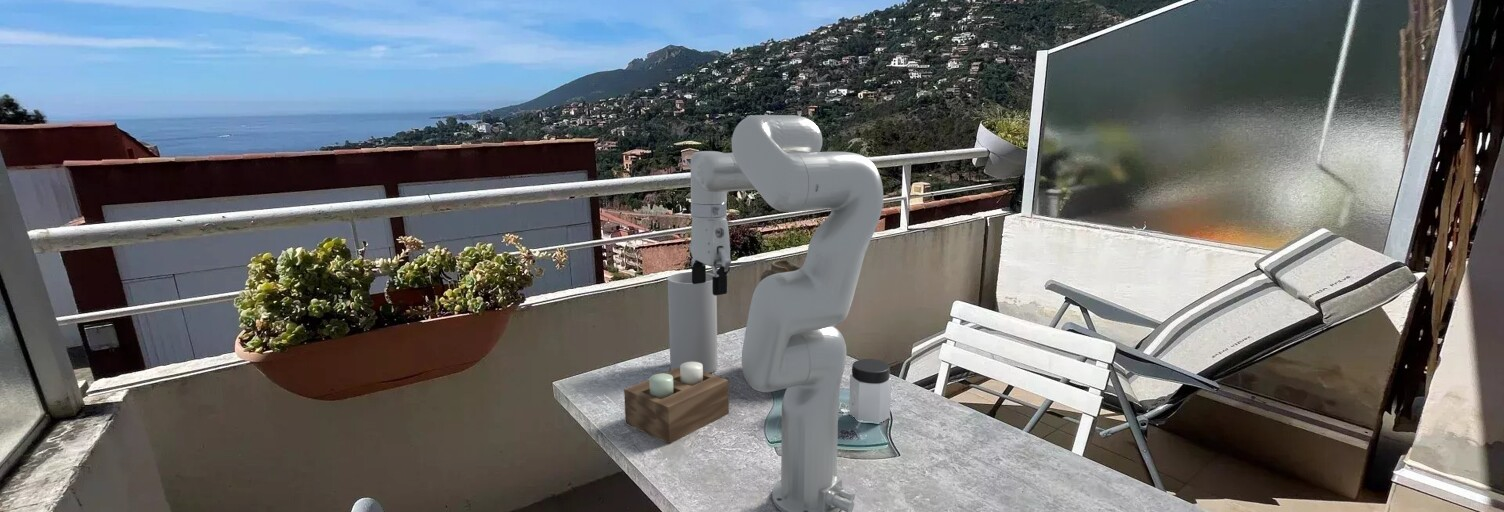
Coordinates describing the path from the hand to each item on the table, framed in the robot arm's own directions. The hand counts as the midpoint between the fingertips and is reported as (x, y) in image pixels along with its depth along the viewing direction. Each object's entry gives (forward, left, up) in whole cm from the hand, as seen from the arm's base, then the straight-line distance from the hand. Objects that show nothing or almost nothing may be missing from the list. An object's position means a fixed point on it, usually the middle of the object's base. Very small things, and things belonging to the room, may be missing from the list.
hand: (709, 288), depth 138 cm
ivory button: (+3, +3, -22) cm, 22 cm away
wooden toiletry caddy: (+3, +7, -29) cm, 30 cm away
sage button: (+3, +12, -22) cm, 25 cm away
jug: (-1, -28, -29) cm, 40 cm away
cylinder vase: (+21, -16, -29) cm, 40 cm away
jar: (-29, -21, -29) cm, 46 cm away
